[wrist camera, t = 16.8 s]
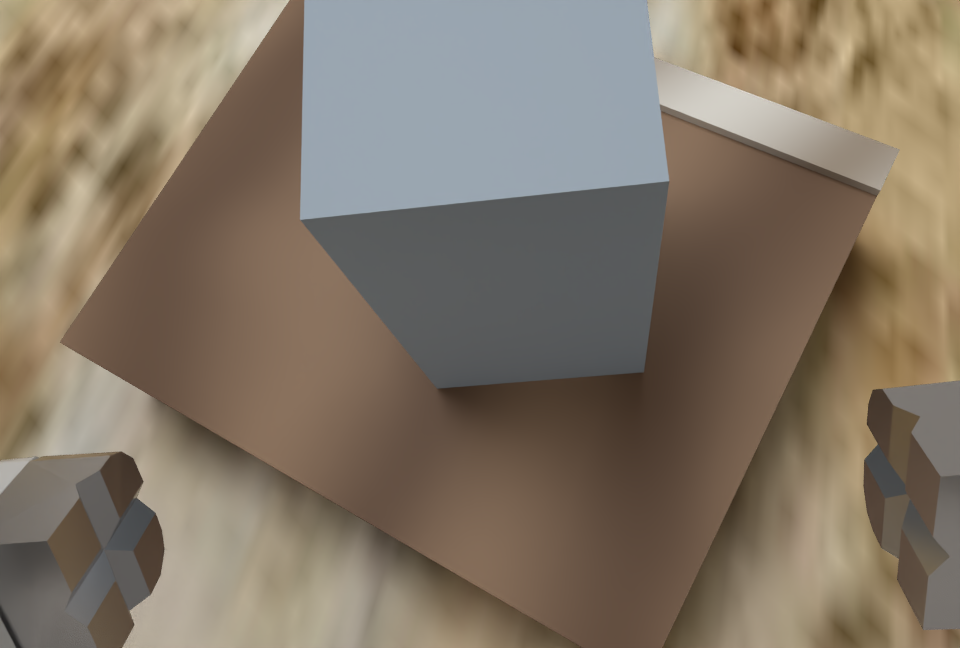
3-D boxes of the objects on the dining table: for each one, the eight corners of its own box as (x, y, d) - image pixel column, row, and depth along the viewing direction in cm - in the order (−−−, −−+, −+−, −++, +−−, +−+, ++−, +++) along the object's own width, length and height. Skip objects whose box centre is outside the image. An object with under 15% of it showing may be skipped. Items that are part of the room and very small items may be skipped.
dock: (152, 386, 28) (52, 339, 23) (373, 40, 31) (328, -69, 26) (638, 668, 24) (645, 685, 19) (846, 233, 26) (901, 146, 21)
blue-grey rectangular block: (437, 388, 22) (300, 219, 12) (431, 202, 23) (306, -75, 14) (643, 372, 21) (669, 181, 12) (623, 182, 22) (631, -123, 13)
